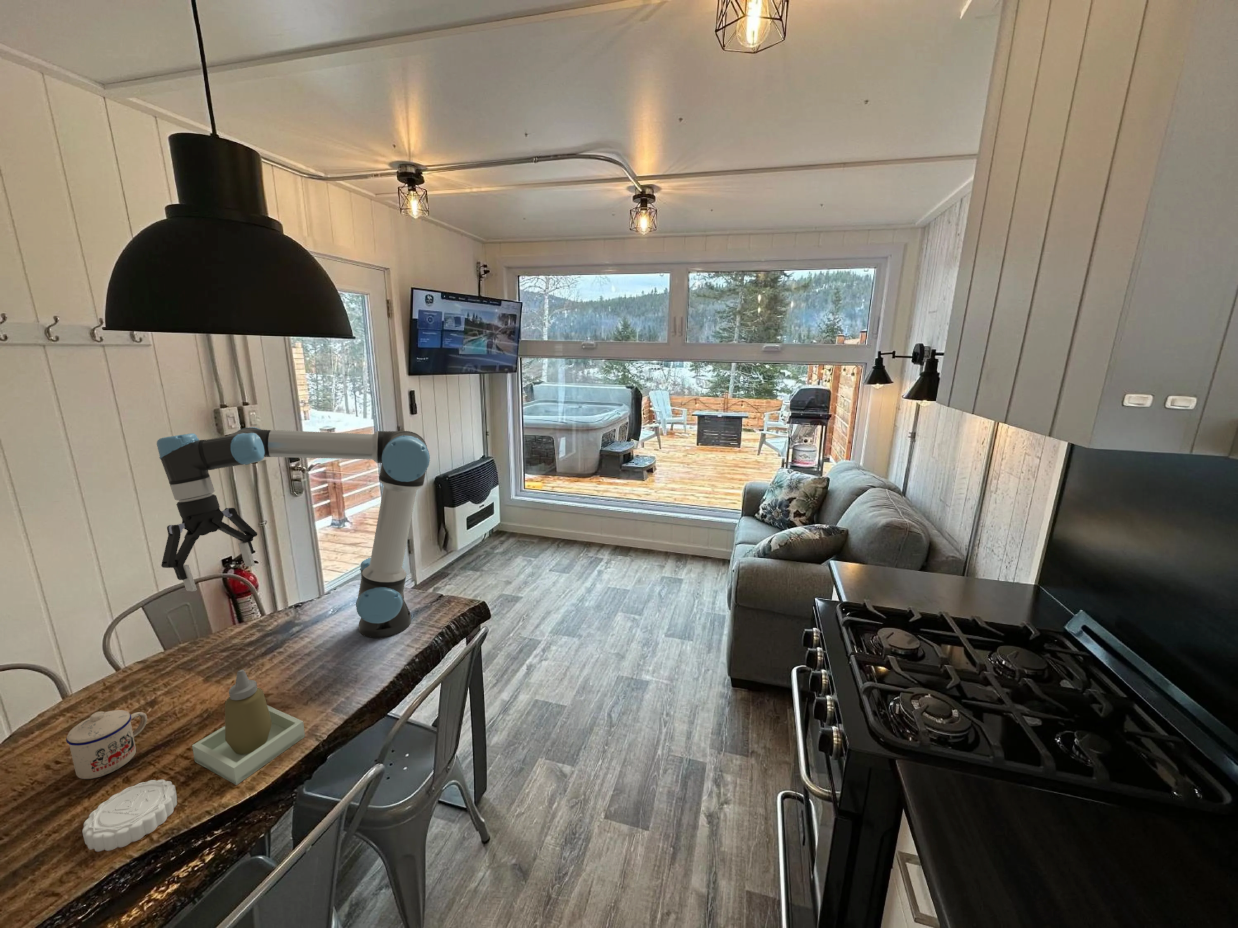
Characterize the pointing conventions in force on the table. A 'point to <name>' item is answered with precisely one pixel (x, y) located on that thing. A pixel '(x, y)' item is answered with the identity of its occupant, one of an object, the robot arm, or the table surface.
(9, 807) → the table surface
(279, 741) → the tray
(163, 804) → the mooncake
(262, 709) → the squeeze bottle
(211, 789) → the table surface
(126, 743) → the teacup with lid
